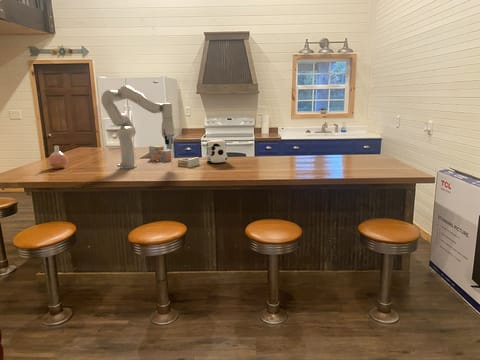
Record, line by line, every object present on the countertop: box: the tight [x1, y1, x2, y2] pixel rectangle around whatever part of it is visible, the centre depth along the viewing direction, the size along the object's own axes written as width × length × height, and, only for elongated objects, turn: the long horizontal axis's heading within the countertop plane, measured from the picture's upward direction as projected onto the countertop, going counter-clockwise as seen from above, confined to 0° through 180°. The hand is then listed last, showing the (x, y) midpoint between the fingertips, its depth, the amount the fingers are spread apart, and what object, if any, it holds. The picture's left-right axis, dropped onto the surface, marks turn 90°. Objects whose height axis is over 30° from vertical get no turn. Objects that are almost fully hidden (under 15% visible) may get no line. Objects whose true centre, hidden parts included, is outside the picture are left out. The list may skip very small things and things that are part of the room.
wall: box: [187, 156, 200, 168], centre depth 275 cm, size 13×2×6 cm, turn 153°
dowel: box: [165, 134, 173, 150], centre depth 269 cm, size 4×4×12 cm
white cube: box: [205, 139, 228, 164], centre depth 288 cm, size 17×17×18 cm
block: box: [177, 157, 192, 168], centre depth 278 cm, size 10×10×5 cm
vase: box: [47, 145, 69, 170], centre depth 274 cm, size 14×14×18 cm
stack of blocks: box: [148, 145, 172, 163], centre depth 305 cm, size 21×6×12 cm, turn 53°
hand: (169, 143), depth 270 cm, fingers closed on dowel, 4 cm apart
